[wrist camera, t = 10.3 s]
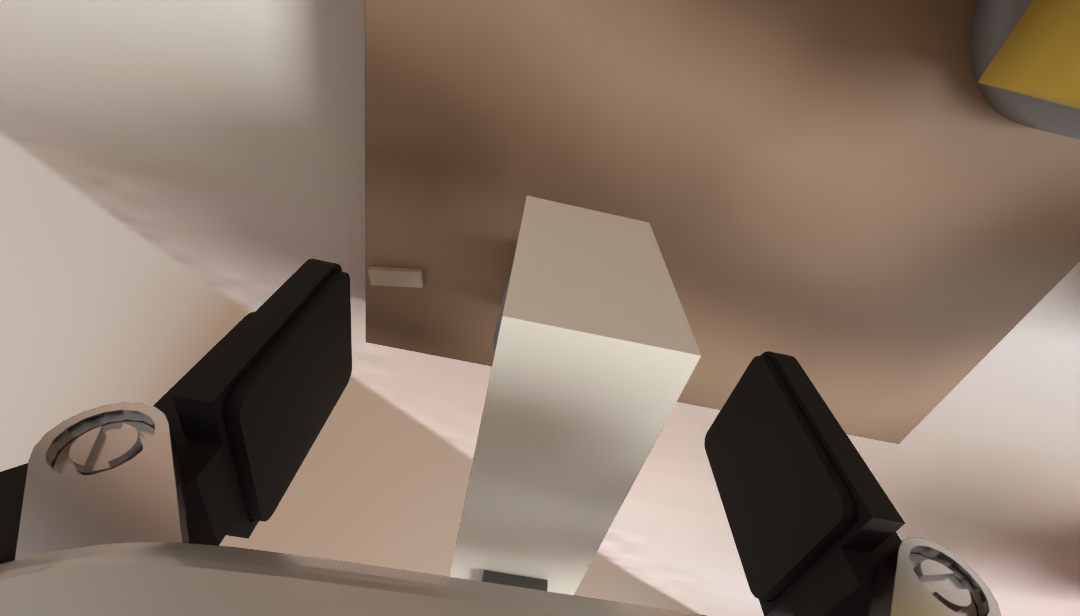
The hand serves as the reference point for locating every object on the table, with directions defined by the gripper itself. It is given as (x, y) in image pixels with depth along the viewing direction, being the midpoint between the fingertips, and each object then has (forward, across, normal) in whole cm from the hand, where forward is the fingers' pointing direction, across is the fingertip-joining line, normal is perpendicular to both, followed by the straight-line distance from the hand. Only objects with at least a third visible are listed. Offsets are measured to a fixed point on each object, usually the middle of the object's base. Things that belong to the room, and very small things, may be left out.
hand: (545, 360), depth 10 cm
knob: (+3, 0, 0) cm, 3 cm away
